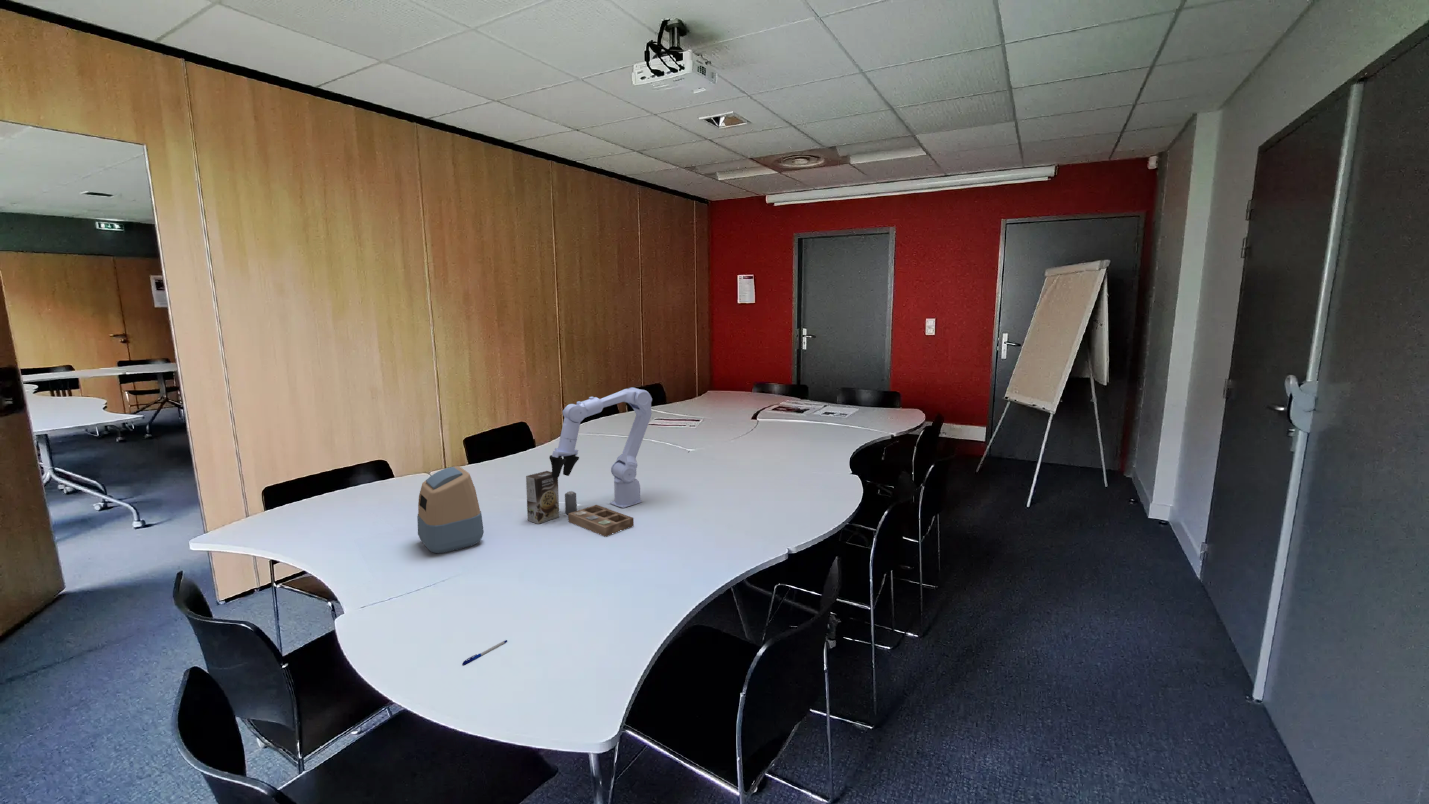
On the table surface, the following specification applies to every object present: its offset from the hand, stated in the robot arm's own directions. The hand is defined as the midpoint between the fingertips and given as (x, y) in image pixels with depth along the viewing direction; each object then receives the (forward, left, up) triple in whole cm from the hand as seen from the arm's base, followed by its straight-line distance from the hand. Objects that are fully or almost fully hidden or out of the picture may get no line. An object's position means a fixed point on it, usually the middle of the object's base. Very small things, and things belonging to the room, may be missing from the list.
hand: (560, 476), depth 200 cm
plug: (-4, -1, -15) cm, 15 cm away
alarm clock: (+37, -6, -15) cm, 40 cm away
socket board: (-4, +16, -15) cm, 22 cm away
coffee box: (+6, -3, -15) cm, 16 cm away
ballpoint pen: (+59, +57, -15) cm, 83 cm away
